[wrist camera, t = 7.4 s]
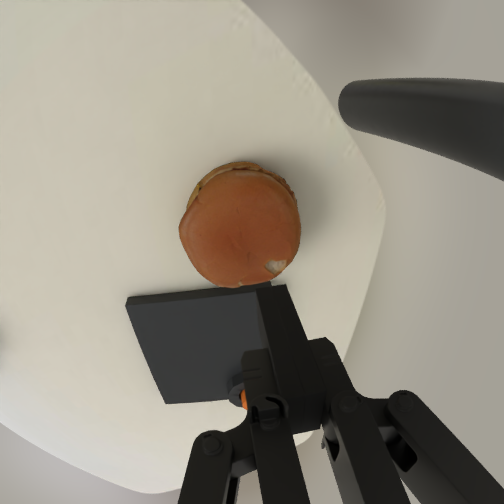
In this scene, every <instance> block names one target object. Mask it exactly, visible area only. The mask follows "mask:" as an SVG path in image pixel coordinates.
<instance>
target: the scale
mask: <svg viewBox="0 0 504 504" xmlns="http://www.w3.org/2000/svg"><path fill="white" fill-rule="evenodd" d="M270 286H272V285H271V282H263V283H258V284H253V285H242V286H240V287H237V288H227V287H222V288H213V289H204V290H196V291H187V292H177V293H168V294H158V295H148V296H138V297H128V299H127V302H126V305H125V307H126V309H127V312H128V315H129V318H130V321H131V323H132V326H133V329H134V331H135V334H136V336H137V339H138V342H139V344H140V347H141V349H142V352H143V354H144V357H145V359H146V361H147V364H148V366H149V368H150V371H151V373H152V375H153V378H154V380H155V382H156V384H157V387H158V389H159V391H160V393H161V395H162V397H163V400H164V402H165V404H177V403H193V402H206V401H217V400H227V399H229V401H230V402H231V403H232V404H234V405H235V406H237V407H243V406H242V399H241V392H242V391H243V390H244V383H243V376H242V369H241V362H240V360H241V358H242V355H243V353H244V351H250V350H257V349H263V347H262V343H261V338H260V334H259V328H258V316H257V304H256V292H255V288H263V287H270Z"/></svg>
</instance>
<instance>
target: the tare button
mask: <svg viewBox="0 0 504 504" xmlns="http://www.w3.org/2000/svg"><path fill="white" fill-rule="evenodd" d="M241 399H242V406H243V408H244V409H246V410H247V403H246V396H245V389H244V390H243V391H242V392H241Z"/></svg>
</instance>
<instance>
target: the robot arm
mask: <svg viewBox="0 0 504 504" xmlns="http://www.w3.org/2000/svg"><path fill="white" fill-rule="evenodd" d="M255 292H256V304H257V316H258V328H259V334H260V338H261V343H262V347H263V349H257V350H250V351H244V353H243V355H242V358H241V360H240V362H241V369H242V376H243V383H244V389H245V396H246V403H247V415H246V418H245V420H244V421H243V422H242V423H241V424H240V425H239V426H237V427H235V428H233V429H231V430H228V431H226V432H221V431H217V430H210V431H206V432H203V433H201V434H200V435H199V436H198V437H197V438H196V439H195V441H194V443H193V446H192V450H191V454H190V458H189V462H188V465H187V469H186V473H185V477H184V481H183V485H182V489H181V493H180V497H179V500H178V504H236V502H237V495H238V489H239V483H240V477H241V476H242V475H245V474H247V473H249V472H252V471H254V470H256V469H257V471H258V477H259V483H260V489H261V494H262V500H263V504H310V500H309V497H308V493H307V489H306V485H305V481H304V477H303V473H302V470H301V466H300V462H299V458H298V454H297V451H296V447H295V443H294V439H293V434H298V433H303V432H308V431H313V430H317V429H320V426H321V424H322V427H323V430H324V435H323V439H322V443H321V447H322V449H323V448H324V447H326V450H327V453H328V456H329V460H330V463H331V466H332V469H333V472H334V476H335V479H336V482H337V485H338V488H339V492H340V494H341V498H342V501H343V504H411V503H410V501H409V498H408V496H407V493H406V492H405V489H404V486H403V484H402V481H403V482H404V483H405V484H406V486H407V487H408V488H409V489H410V490H411V492H412V493H413V494H414V496H415V497H416V498H417V499H418V501H419V502H420V503H421V504H504V489H503V488H502V486H501V485H500V484H499V483H498V482H497V481H496V480H495V479H494V478H493V477H492V475H491V474H490V473H489V472H488V471H487V470H486V469H485V468H484V467H483V466H482V465H481V463H480V462H479V461H478V460H477V459H476V458H475V457H474V456H473V455H472V454H471V453H470V451H469V450H468V449H467V448H466V447H465V446H464V445H463V444H462V443H461V442H460V441H459V440H458V439H457V438H456V436H455V435H454V434H453V433H452V432H451V431H450V430H449V429H448V428H447V427H446V426H445V425H444V424H443V423H442V422H441V421H440V420H439V418H438V417H437V416H436V415H435V414H434V413H433V412H432V411H431V410H430V409H429V408H428V407H427V406H426V405H425V404H424V403H423V402H422V400H421V399H420V398H419V397H418V396H417V395H415V394H414V393H412V392H410V391H407V390H399V391H397V392H394V393H393V394H392V395H391V396H390V397H389V399H372V398H367V397H364V396H362V395H361V394H359V393H358V392H357V391H356V390H355V388H354V387H353V385H352V382H351V380H350V378H349V376H348V374H347V371H346V369H345V367H344V365H343V363H342V362H341V359H340V356H339V355H338V352H337V350H336V348H335V346H334V344H333V343H332V342H331V341H329V340H328V339H327V338H326V337H323V338H318V339H313V340H308V339H307V337H306V334H305V332H304V329H303V327H302V324H301V322H300V319H299V317H298V314H297V311H296V309H295V306H294V304H293V301H292V299H291V296H290V294H289V291H288V289H287V286H286V284H284V285H277V286H270V287H263V288H255ZM400 478H401V479H402V481H401V479H400Z"/></svg>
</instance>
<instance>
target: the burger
mask: <svg viewBox="0 0 504 504" xmlns="http://www.w3.org/2000/svg"><path fill="white" fill-rule="evenodd" d="M179 235H180V239H181V242H182V245H183V247H184V249H185V251H186V253H187V255H188V257H189V259H190V260H191V262H192V264H193V265H194V267H195V268H196V269H197V271H198V272H199V273H200V274H201V275H202V276H203V277H205V278H206V279H207V280H209V281H210V282H212V283H213V284H215V285H217V286H220V287H227V288H237V287H240V286H242V285H253V284H258V283H263V282H267V281H269V280H271V279H273V278H275V277H277V276H278V275H279V274H280V273H281V272H282V271H283V270H284V269H285V268H286V267H287V266H288V265H289V264H290V263H291V262H292V261H293V259H294V257H295V255H296V253H297V251H298V248H299V244H300V236H301V223H300V216H299V212H298V207H297V200H296V198H295V196H294V192H293V191H292V190H291V189H290V187H289V185H288V184H286V181H285V180H284V178H283V179H282V178H281V177H280V176H278V175H276V174H275V173H272V172H270V171H267V170H265V169H263V168H261V167H260V166H259V165H257V164H254V163H250V162H234V163H229V164H226V165H223V166H220V167H218V168H216V169H214V170H212V171H211V172H210V173H209V174H207V175H206V176H205V177H204V178H203V179H202V180H201V181H200V182H199V183H198V184H197V186H196V187H195V189H194V191H193V193H192V195H191V196H190V199H189V201H188V204H187V209H186V212H185V214H184V215H183V217H182V219H181V222H180V224H179Z"/></svg>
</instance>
